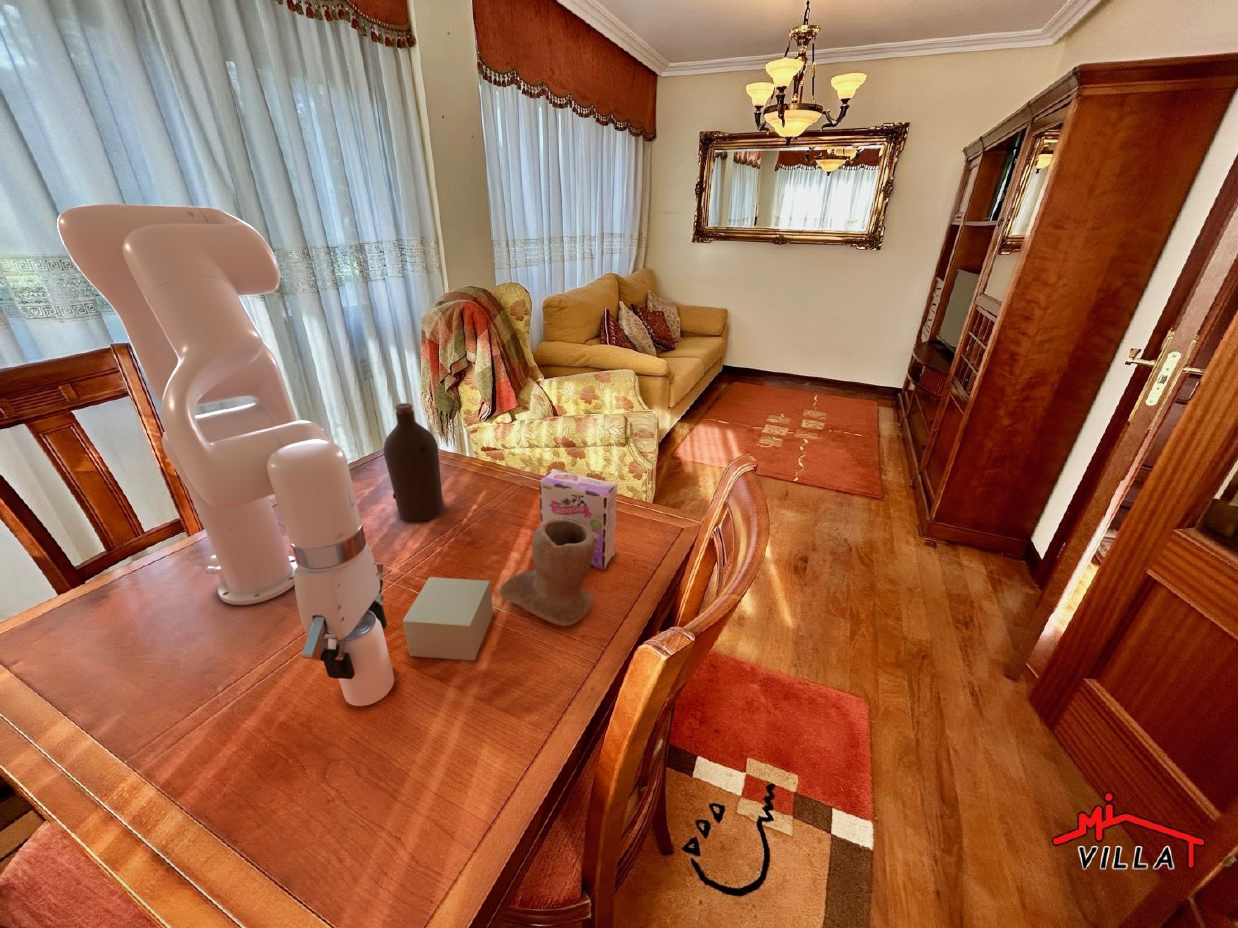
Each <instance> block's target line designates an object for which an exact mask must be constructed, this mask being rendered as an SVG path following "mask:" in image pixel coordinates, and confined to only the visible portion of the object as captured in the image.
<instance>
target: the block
mask: <svg viewBox="0 0 1238 928" xmlns="http://www.w3.org/2000/svg"><path fill="white" fill-rule="evenodd" d="M491 587H492V586H491V581H490V580H482V579H465V578H453V577H451V578H449V577H437V576H435V577H434V576H429V577H428V579H427V580H426V582H425V584H424V585H423V587H422V588H421V590H420V592H419V593H418V595H417V596H416V598H415V599H414V601H413V603H412V604H411V606H410V608H409V609H408V611H407V613H406V614H405V616H404V617H403V619H402V621H401V622H402V627H403V632H404V636H405V641H406V646H407V650H408V654H409V657H420V658H432V659H434V658H435V659H445V660H460V661H475V660H476V657H477V655H478V652H479V650H480V648H481V646H482V643H483V641H484V638H485V635H486V633H487V630H488V628H489V625H490V622H491V621H492V618H493V615H494V608H493V598H492V597H493V596H492V588H491Z"/></svg>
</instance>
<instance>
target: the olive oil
mask: <svg viewBox="0 0 1238 928" xmlns="http://www.w3.org/2000/svg"><path fill="white" fill-rule="evenodd" d="M394 407H395V411H396V412H395V416H396V421H397V424H396V425H395V427H393V428H392V430H391V431H390V433H388V435H387V437H386V438H385V441H384V443H383V457H384V461H385V464H386V468H387V471H388V476H389V479H390V483H391V487H392V491H393V494H392V497H393V500H395V502H396V507H397V511H398V515H399V517H400V518H401V520H403V521H406V522H411V523H420V522H421V523H422V522H426V521H430V520H432V519H434V518H437V517H438V516H440V514H442V512H443V511H444V497H443V490H442V479H441V469H440V468H441V467H440V456H439V455H440V454H439V446H438V442H437V439H436V438H435V437H434V435H433V434H432V432H430V431H429V430H428V429H426V428H425V427H424V426H422V425H421V424H419V423H418V422H416V417H415V411H414V410H413V404H412V403H408V402H403V403H399V404H396V405H395V406H394Z"/></svg>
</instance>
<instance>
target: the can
mask: <svg viewBox="0 0 1238 928" xmlns="http://www.w3.org/2000/svg"><path fill="white" fill-rule="evenodd" d="M328 631H330V630H328ZM336 641H337V639H329V641H328V649H336ZM345 652H347V653H349V655H350V658H351V661H352V665H353V668H354V672H355V675H354V677H353V678H352V679H342V678H340V679H338V682H339V685H340V688H341V691H342V694H343V697H344V700H345V701H346V702H347V703H348V704H349V705H352V706H354V707H366V706H371V705H373V704H375V703H377V702H380V701H381V700H382V699H384V698H385V697H386V696H387V695H388V694H389V692H390V691H391V690H392V689H393V686H394V683H395V675H394V670H393V666H392V663H391V658H390V654H389V649H388V645H387V641H386V637H385V633H384V629H382V625H381V623H380V621H379V620H378V619H377V618H376V616H375V614H374V613H373V612H372V611H369V610H367V611H366V612H365V614H364V615H363V617H362V618H361V619H360V621H359V622H358V623H357V625H356V626H355V627H354V629H353V630H352V631H351V632H350V634H349V635H347V636H346V646H345Z"/></svg>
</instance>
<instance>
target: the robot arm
mask: <svg viewBox="0 0 1238 928" xmlns="http://www.w3.org/2000/svg"><path fill="white" fill-rule="evenodd" d="M56 222H57V223H56V224H57V225H56V227H57V231H58V235H59V237H60V240H61V242H62V245H63V246H64V248H65V250H66V252H67V254H68V256H69V257H70V259H71V261H72V262H73V264H74V265H75V266H76V267H77V269H78V270H79V272H80V273H81V274H82V276H84V278H85V279H86V280H87V281H88V283H90V284H91V286H93V288H94V289H95V290H96V291H97V292H98V293H99V294H100V295H101V296H102V298H104V300H106V302H107V303H108V304H109V306H110V307H111V308H112V309H113V311H114V312H115V313H116V315H117V316H118V318H119V320H120V323H122V324H121V325H122V326H123V328H124V331H125V333H126V336H127V337H128V340H129V342H130V344H131V347H132V349H133V351H134V353H135V356H136V359H137V361H138V362H139V363H138V364H139V366H140V367H141V369H142V372H143V374H144V376H145V379H146V380H147V383H148V385H149V387H150V389H151V390H152V392H153V394H154V395H155V397H156V398H157V400H159V402H160V403H161V420H162V421H161V422H162V425H163V430H164V431H163V434H162V436H161V445H162V449H163V451H164V454H165V455H166V457H167V459H168V460H169V462H170V464H171V466H172V467H173V468H174V470H175V471H176V473H177V475H178V476H179V477H180V479H181V480H182V482H183V484H184V486H185V487H186V489H187V491H188V494H189V496H190V498H191V501H193V504H194V506H195V509H196V512H197V514H198V517H199V518H200V520H201V523H202V526H203V528H204V530H205V533H206V536H207V538H208V541H209V543H210V545H211V548H212V550H213V553H214V555H212V556H210V558H209V560H208V565H209V566H207V567H206V569H205V574H206V575H213V576H214V575H216V576H217V575H218V577H219V580H220V582H219V584H218V586H217V594H218V596H219V598H220V600H222V602H224V603H226V604H228V605H229V604H230V605H234V606H246V605H247V606H248V605H254V604H258V603H263V602H266V601H268V600H271V599H274V598H276V597H278V596H280V595H282V594H284V593H285V592H287V591H289V590H291V588H293V587H294V592H295V598H296V603H297V609H298V613H299V617H300V621H301V625H302V628H303V631H304V634H305V636H306V637H307V638H306V640H305V644H304V646H303V650H302V652H301V658H302V659H305V660H310V661H314V662H315V661H317V662H323V665H324V668H325V670H326V674H327V676H328V677H329V678H331V679H335V680H336V679H337V680H339V679H340V678H342V679H352V678H353V677H354V675H355V672H354V668H353V665H352V661H351V658H350V655H349V653H347V652H345V646H346V636H347V635H349V634H350V632H351V631H352V630H353V629H354V627H355V626H356V625H357V623H358V622H359V621H360V619H361V618H362V617H363V615H364V614H365V612H366V611H367V610H369V611H372V612H373V613H374V614H375V616H376V618H377V619H378V620H379V621H380V623H381V625H382V629H383V630H385V629H386V628H387V626H388V622H387V618H386V615H385V610H384V607H383V604H382V603H383V602H384V595H383V594H382V590H383V586H384V580H383V573H384V564H383V563H376V560H375V556H374V554H373V552H372V548H371V547H370V544H369V542H368V540H367V538H366V535H365V530H364V526H363V522H362V518H361V514H360V509H359V506H358V502H357V497H356V492H355V489H354V485H353V479H352V476H351V472H350V467H349V463H348V460H347V456H346V453H345V451H344V449H342V447H341V446H339V444H337V443H335V442H333V440H332V438H331V436H330V434H329V433H328V432H327V430H326V429H324V428H322V427H321V426H320V425H318V424H317V423H315V422H314V421H310V420H298V418H297V416H296V413H295V410H294V406H293V404H292V401H291V398H290V395H289V391H288V388H287V386H286V383H285V379H284V377H283V374H282V371H281V368H280V365H279V363H278V360H277V358H276V356H275V354H274V353H273V351H272V350H271V348H270V347H269V346H268V344H267V343H266V342H265V341H264V340H263V337H262V335H261V333H260V331H259V330H258V328H257V326H256V325H255V323H254V321H253V319H252V317H251V315H250V314H249V312H248V310H247V308H246V306H245V305H244V303H243V301H242V299H241V297H246V296H259V295H260V296H261V295H267V294H271V293H273V292H275V291H276V290H277V289H278V287H279V285H280V281H281V271H280V266H279V264H278V260H277V258H276V255H275V254H274V252H273V249H272V248H271V246H270V244H269V243H268V242H267V240H265V238H264V237H263V236H262V234H260V233H259V232H258V231H257V230H256V229H255V228H254V227H253V226H252V225H250V224H248V223H247V222H245V221H243V220H241V219H240V218H238V217H236V216H234V215H232V214H229V213H228V212H226V211H224V210H221V209H219V208H214V207H210V206H191V205H188V206H187V205H157V204H138V203H137V204H134V203H96V204H85V205H84V204H83V205H77V206H74V207H71V208H67V209H66V210H63V211H62V212H61V213H60V214H59V216H58V217H57V221H56ZM243 398H250V399H251V400H252V402H253V403H250V404H245V405H241V406H236V407H232V408H228V409H222V410H216V411H213V412H208V413H203V414H199V415H196V408H197V407H198V408H199V407H203V406H209V405H213V404H217V403H223V402H228V401H232V400H237V399H238V400H239V399H243ZM273 495H274V498H275V501H276V504H277V506H278V510H279V513H280V516H281V519H282V522H283V525H284V528H285V531H286V535H287V538H288V541H289V545H290V548H291V550H292V554H293V556H291V555H289V553H288V550H287V547H286V544H285V541H284V538H283V535H282V532H281V529H280V526H279V522H278V519H277V517H276V513H275V511H274V507H273V505H272V501H271V498H270V496H273ZM328 630H330V631H328ZM329 639H337V641H336V649H329V646H328V641H329Z"/></svg>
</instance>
